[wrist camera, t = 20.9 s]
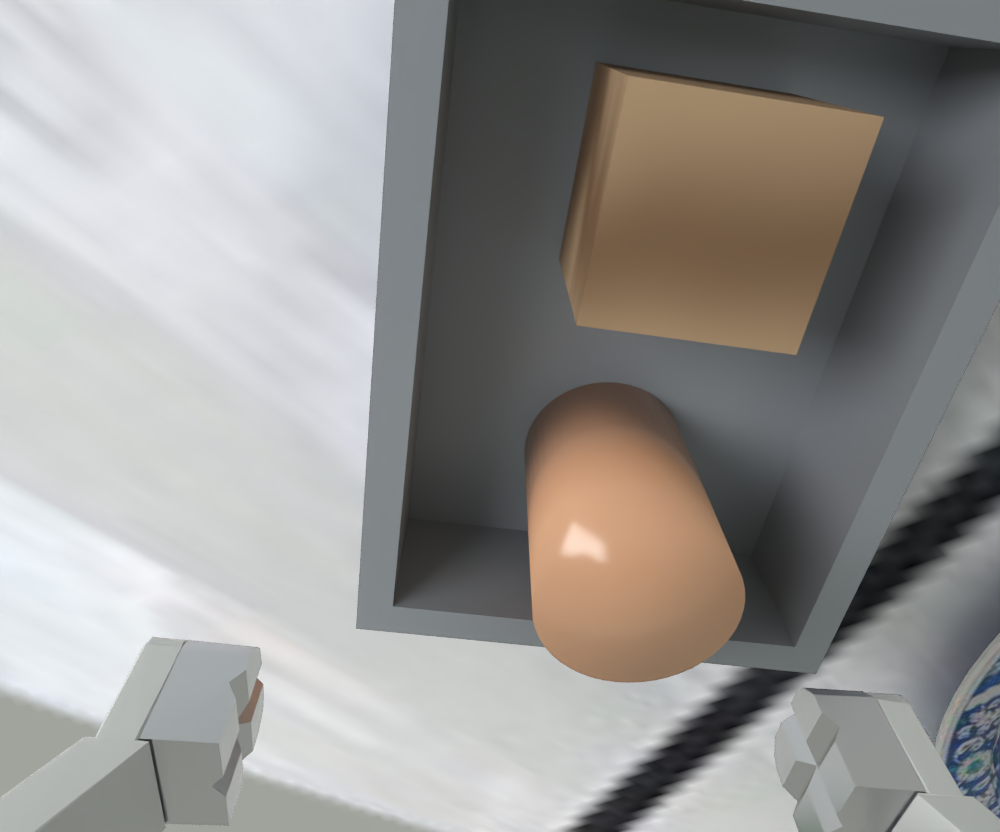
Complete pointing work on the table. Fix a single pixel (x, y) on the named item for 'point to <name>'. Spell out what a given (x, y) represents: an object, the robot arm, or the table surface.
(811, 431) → the tote
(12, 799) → the robot arm
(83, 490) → the table surface
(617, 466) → the terracotta cylinder
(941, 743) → the ceramic plate
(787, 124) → the walnut cube
